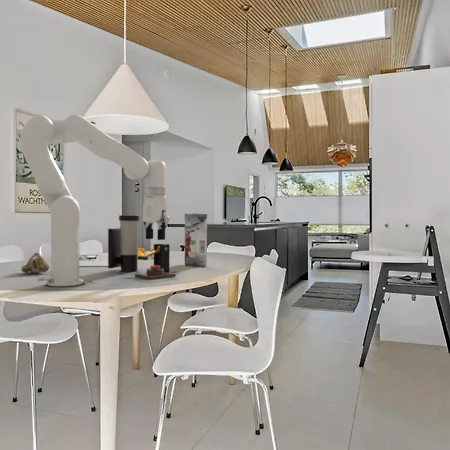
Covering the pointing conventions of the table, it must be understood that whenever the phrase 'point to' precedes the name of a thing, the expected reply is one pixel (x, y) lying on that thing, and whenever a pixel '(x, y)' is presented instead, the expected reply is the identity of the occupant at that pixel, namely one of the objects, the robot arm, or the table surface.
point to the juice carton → (195, 239)
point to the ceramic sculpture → (36, 264)
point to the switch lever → (149, 254)
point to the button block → (155, 274)
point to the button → (155, 267)
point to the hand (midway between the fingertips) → (155, 238)
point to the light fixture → (124, 244)
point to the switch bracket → (162, 257)
